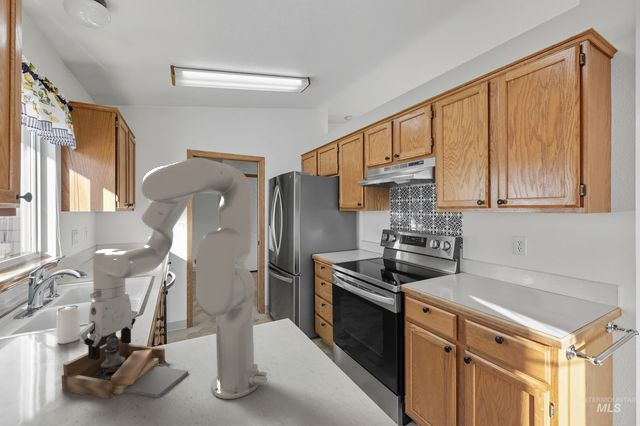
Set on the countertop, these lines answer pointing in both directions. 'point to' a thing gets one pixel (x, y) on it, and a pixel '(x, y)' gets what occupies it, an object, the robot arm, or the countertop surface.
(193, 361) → the countertop surface
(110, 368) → the grey stone finial
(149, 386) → the mat
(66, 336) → the can
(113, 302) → the robot arm
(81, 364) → the rack
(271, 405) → the countertop surface
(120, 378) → the upper offcut
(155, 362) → the lower offcut
